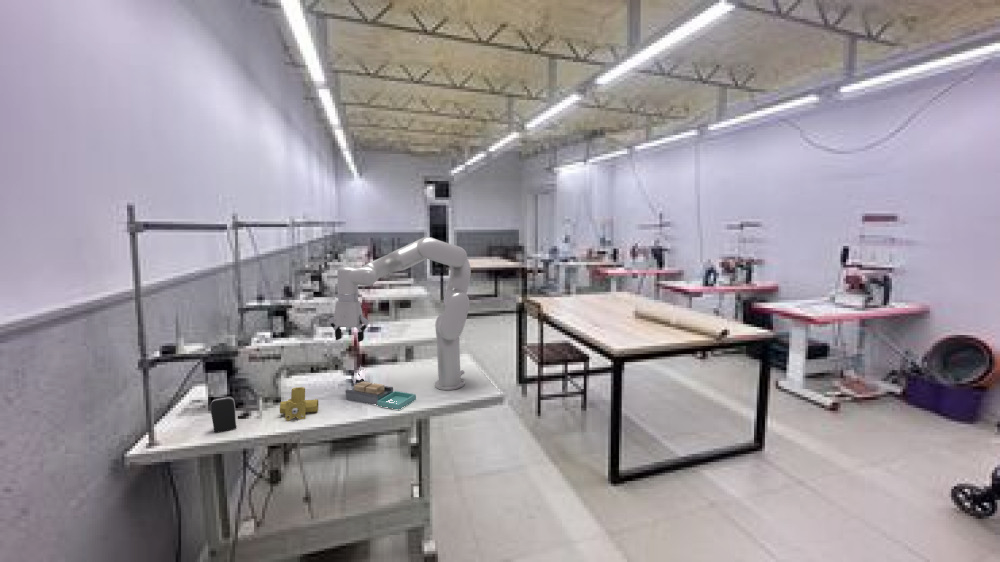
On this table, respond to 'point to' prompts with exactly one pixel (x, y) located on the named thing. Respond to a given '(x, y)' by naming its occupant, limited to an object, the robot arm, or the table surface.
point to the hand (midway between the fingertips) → (349, 340)
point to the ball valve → (298, 405)
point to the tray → (397, 396)
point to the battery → (223, 414)
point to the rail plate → (367, 395)
